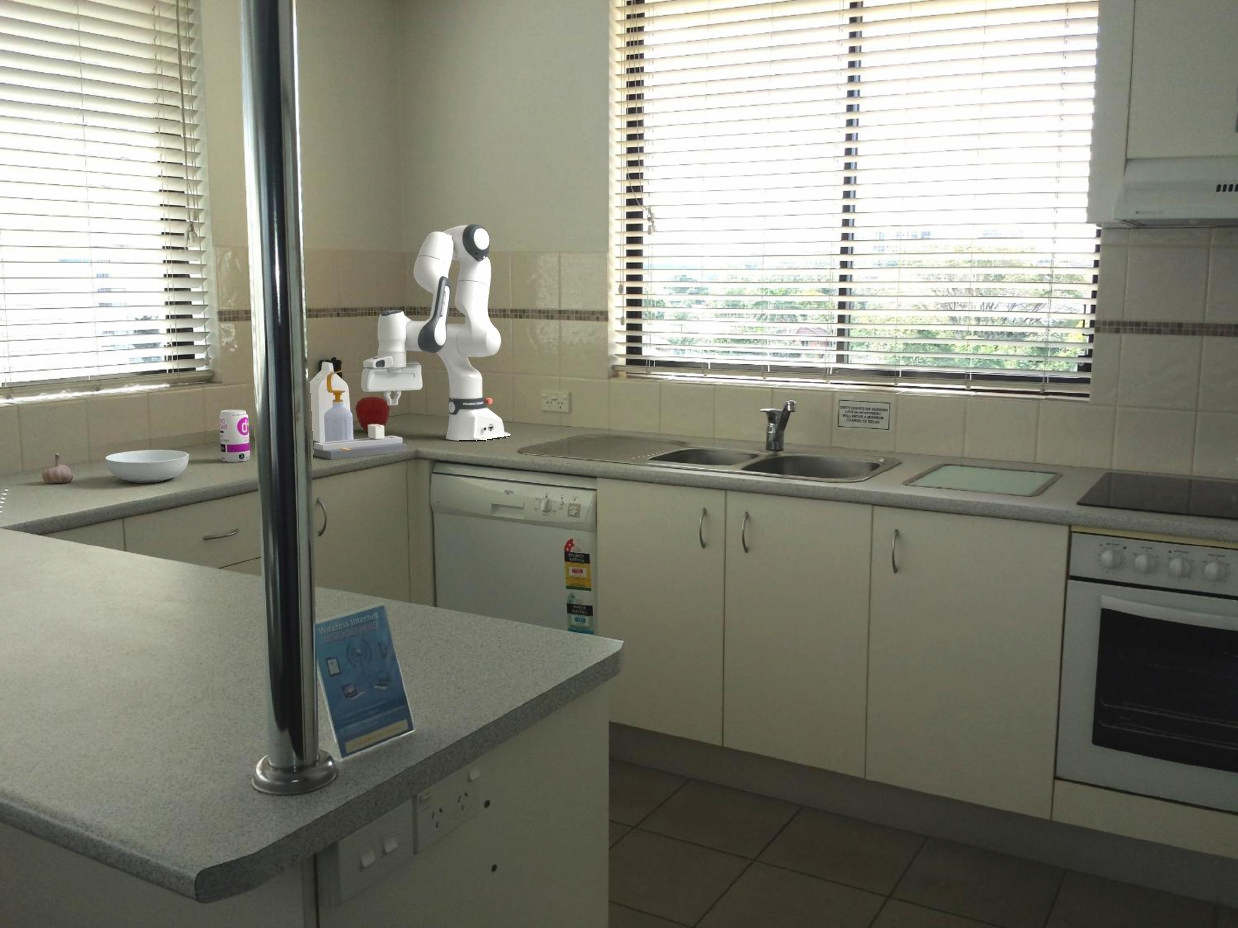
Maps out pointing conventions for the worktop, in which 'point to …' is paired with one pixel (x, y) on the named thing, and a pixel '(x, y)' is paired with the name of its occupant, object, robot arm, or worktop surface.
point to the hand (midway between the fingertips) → (392, 405)
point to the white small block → (375, 431)
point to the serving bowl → (147, 465)
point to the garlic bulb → (57, 473)
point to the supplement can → (234, 435)
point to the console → (359, 447)
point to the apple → (372, 411)
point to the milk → (325, 398)
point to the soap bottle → (337, 417)
